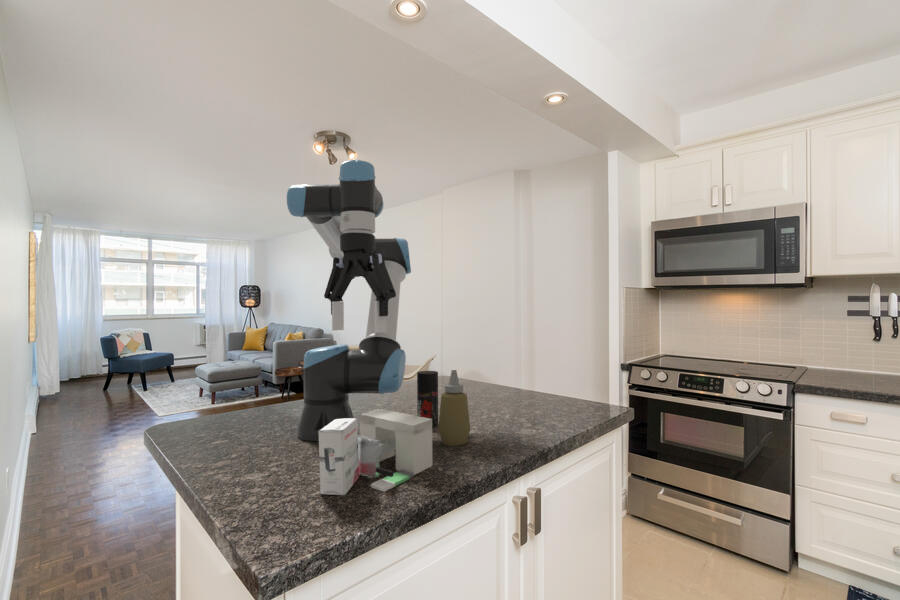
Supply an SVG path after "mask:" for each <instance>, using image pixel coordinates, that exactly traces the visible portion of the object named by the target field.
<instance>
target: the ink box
mask: <svg viewBox="0 0 900 600" xmlns="http://www.w3.org/2000/svg"><path fill="white" fill-rule="evenodd" d="M358 431H359V430H358V419H357V418H354V417H353V418H343V419H335V420H333V421H332V422H331V423H329V424H328V425H326V426H325V427H324V428H322V429H321V430H319V431H318V433H319V441H318V454H319V455H318V459H319V461H318V462H319V486H320V490H319V493H320V495H328V496H329V495H331V496H332V495H334V496H335V495H336V496H345V495H346V494H347V493H348V492H349V491H350V490H351V488H352V487H353V485H354V484H355V483H356V482H357V480H358V479H359V478H360V472H359V454H358V435H359V432H358Z"/></svg>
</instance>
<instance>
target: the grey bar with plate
mask: <svg viewBox="0 0 900 600" xmlns="http://www.w3.org/2000/svg"><path fill="white" fill-rule="evenodd" d="M392 450H395V451H396V437H395V438H392V437H391V438H388V439H385V440H383V441H380V442H379V440H376V439H372V438H368V437H364V436H360V434H358V454H359V474H360V473H361V474H364V475H367V476H370V477H372V478H378V477H380V474H381V475H384V476H386V477H387V476H390V477H392V476H393V473H394V471H392V470H388V469H387V468H386V469H385V468H382V467H380V462H379V456H380V455H382V454H385V453H387V452H390V451H392Z"/></svg>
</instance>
